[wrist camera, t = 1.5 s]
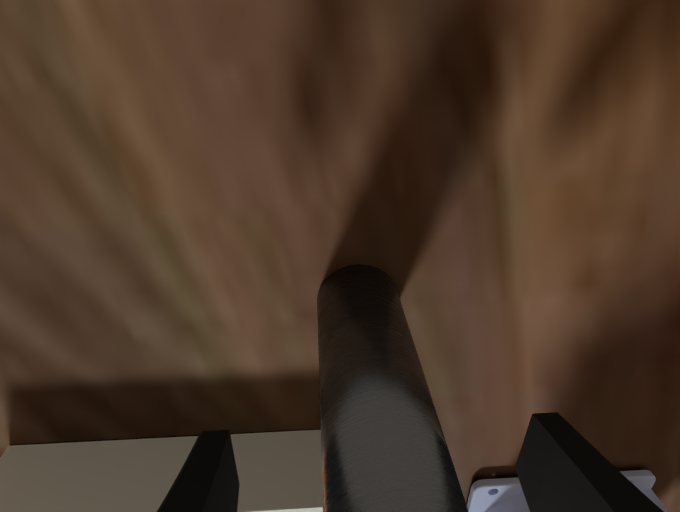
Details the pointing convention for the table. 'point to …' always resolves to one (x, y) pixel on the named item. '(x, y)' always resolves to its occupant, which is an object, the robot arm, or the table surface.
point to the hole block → (158, 473)
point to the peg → (377, 404)
